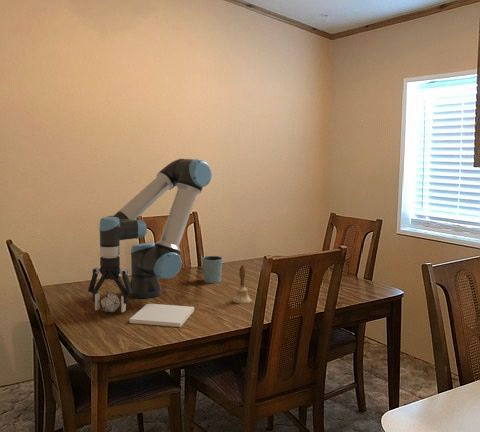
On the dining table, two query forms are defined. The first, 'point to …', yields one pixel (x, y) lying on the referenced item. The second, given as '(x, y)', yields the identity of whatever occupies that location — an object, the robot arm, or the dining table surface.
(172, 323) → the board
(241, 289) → the hand bell
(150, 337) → the dining table surface
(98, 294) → the robot arm
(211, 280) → the blue cup
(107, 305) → the game die
